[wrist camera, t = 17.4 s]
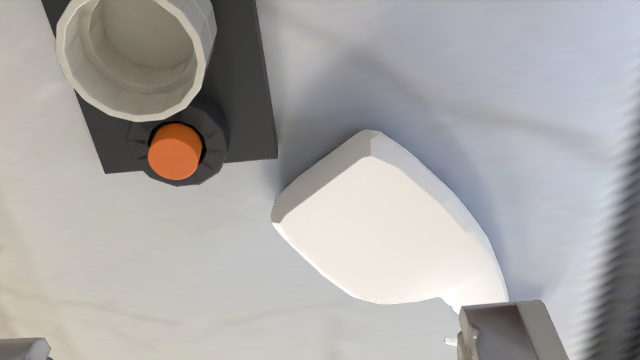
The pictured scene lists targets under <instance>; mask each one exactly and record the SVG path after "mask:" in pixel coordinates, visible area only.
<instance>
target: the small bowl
mask: <svg viewBox="0 0 640 360" xmlns="http://www.w3.org/2000/svg"><path fill="white" fill-rule="evenodd" d="M216 34H217V26H216V21H215V16H214V11H213V6H212V3H211V2H210V0H71V1H70V2H69V4H68V6H67V7H66V9H65V11H64V12H63V14H62V16H61V17H60V19H59V21H58V22H57V28H56V46H55V51H56V55H57V57H58V60H59V63H60V65H61V68H62V71H63V73H64V76H65V77H66V79H67V80H68V82H69V83H70V84H71V85H72V86H73V88H74V89H75V90H76V91H77V92H78V93H79V95H80V96H81V97H82V98H83V99H84V100H85V101H87V102H88V103H90V104H91V105H93V106H95V107H96V108H98V109H100V110H101V111H103V112H105V113H106V114H108V115H110V116H114V117H118V118H122V119H126V120H130V121H134V122H143V121H154V120H163V119H165V118H167V117H169V116H171V115H173V114H175V113H177V112H179V111H181V110H183V109H185V108H186V107H187V106H188V105H189V103H190V102H191V101H192V100H193V98H194V97H195V96H196V94H197V93H198V92H199V91H200V89H201V86H202V83H203V80H204V77H205V74H206V71H207V68H208V65H209V62H210V58H211V55H212V52H213V48H214V43H215V39H216Z"/></svg>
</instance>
